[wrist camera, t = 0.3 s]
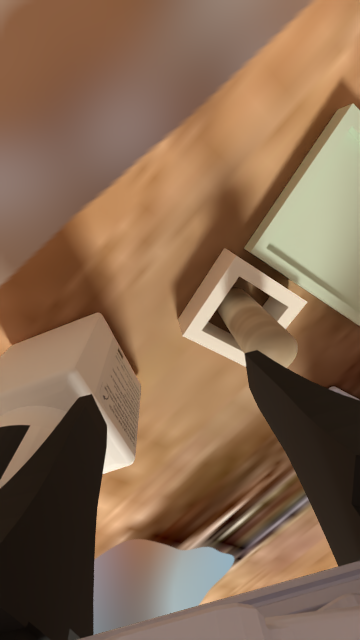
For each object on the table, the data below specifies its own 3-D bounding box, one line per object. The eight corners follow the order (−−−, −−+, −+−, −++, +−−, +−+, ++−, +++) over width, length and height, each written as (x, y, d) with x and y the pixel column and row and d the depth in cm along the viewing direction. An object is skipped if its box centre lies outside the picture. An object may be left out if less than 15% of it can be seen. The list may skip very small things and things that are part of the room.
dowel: (256, 297, 22) (307, 344, 15) (236, 325, 23) (276, 380, 16) (229, 281, 21) (271, 323, 14) (209, 310, 22) (240, 362, 15)
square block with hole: (288, 289, 22) (307, 302, 20) (240, 351, 24) (252, 369, 21) (224, 247, 20) (236, 255, 17) (177, 319, 22) (182, 335, 19)
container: (62, 413, 24) (-28, 622, 12) (10, 344, 21) (-180, 535, 9) (142, 385, 24) (128, 575, 12) (101, 309, 20) (23, 465, 9)
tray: (452, 228, 22) (471, 231, 20) (361, 327, 25) (373, 334, 23) (337, 109, 17) (353, 103, 16) (243, 248, 20) (250, 252, 19)
